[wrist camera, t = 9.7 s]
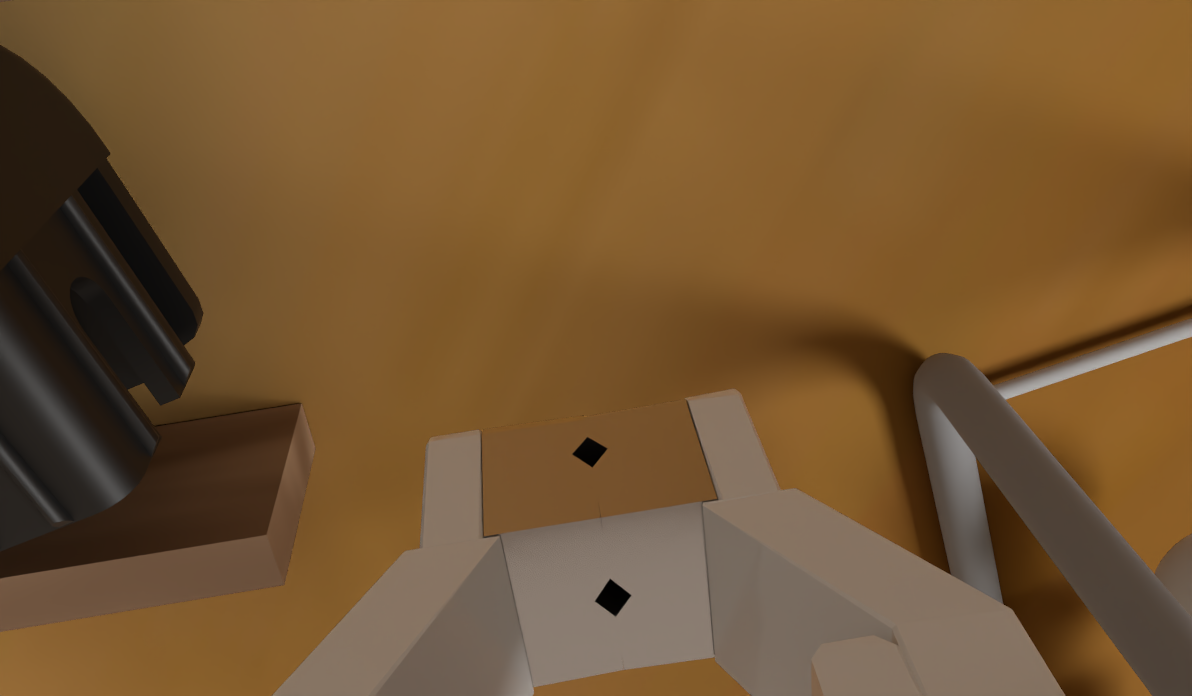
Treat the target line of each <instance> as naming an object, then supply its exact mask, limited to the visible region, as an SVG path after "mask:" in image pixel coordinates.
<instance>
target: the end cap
mask: <svg viewBox="0 0 1192 696" xmlns="http://www.w3.org/2000/svg"><path fill="white" fill-rule="evenodd" d="M109 155H110V152H109V150H108V149H107V148H106V146H105V145H104V143H103V142H102V141H101V139H100V138H99V136H98V135H97V134H96V132H95V131H94V129H93V128H92V127H91V125H90V124H89V123H88V122H87V121H86V119H85V118H84V117H83V116H82V115H81V113H80V112H79V111H78V110H77V109H76V108H75V106H74V105H73V104H72V103H71V102H70V100H69V99H68V98H67V97H66V96H65V95H64V94H63V93H62V92H61V91H60V90H58V89H57V88H56V87H55V86H54V85H53V84H52V83H51V82H50V81H49V80H48V79H47V78H46V77H45V76H44V75H43V74H41V73H40V72H39V71H38V70H36V69H35V68H34V67H33V66H31V65H30V64H29V63H28V62H26V61H25V60H24V59H23V58H21V57H20V56H18V55H16V54H15V53H13V52H11V51H10V50H8V49H6V48H5V47H3V46H1V45H0V551H3V550H6V549H8V548H11V547H13V546H16V545H18V544H21V543H23V542H26V541H29V540H31V539H34V538H36V537H39V536H41V535H44V534H46V533H49V532H52V531H54V530H57V529H59V528H62V527H64V526H67V525H70V524H72V523H75V522H77V521H80V520H82V519H85V518H87V517H90V516H93V515H95V514H97V513H100V512H102V511H104V510H106V509H108V508H110V507H111V506H113V505H114V504H116V503H118V502H119V501H121V500H122V499H123V498H124V497H126V496H127V495H128V494H129V493H130V492H131V491H132V490H133V489H134V488H135V487H136V486H137V485H138V484H139V483H140V481H141V480H142V478H143V477H144V475H145V473H146V470H147V468H148V466H149V464H150V462H151V460H152V457H153V455H154V453H155V451H156V449H157V447H158V444H159V442H160V440H161V438H162V436H161V435H160V433H159V432H158V431H157V429H156V428H155V427H154V425H153V424H152V423H151V421H150V420H149V419H148V417H147V416H146V414H145V413H144V412H143V410H142V409H141V408H140V406H139V405H138V404H137V402H136V401H135V400H134V398H133V397H132V395H131V394H130V393H129V391H128V390H127V389H130V388H132V387H135V386H137V385H140V384H142V383H144V384H145V385H146V386H147V388H148V389H149V390H150V392H151V393H152V395H153V396H154V397H155V399H156V400H157V402H158V403H159V404H160V405H163V404H165V403H168V402H170V401H173V400H175V399H178V398H180V397H181V395H182V392H183V390H184V388H185V386H186V384H187V382H188V379H189V377H190V375H191V373H192V371H193V369H194V366H195V361H194V360H193V358H192V357H191V356H190V354H189V353H188V351H187V350H186V348H185V347H184V345H185V344H186V343H188V342H189V341H190V340H191V339H193V338H194V337H195V335H196V333H197V331H198V328H199V326H200V323H201V320H202V316H203V311H202V308H201V305H200V302H199V299H198V297H197V296H196V294H195V293H194V291H193V290H192V288H191V287H190V285H189V284H188V282H187V281H186V279H185V278H184V276H183V275H182V273H181V272H180V270H179V268H178V267H177V265H176V264H175V262H174V261H173V259H172V258H171V256H170V255H169V253H168V252H167V250H166V249H165V247H164V246H163V244H162V243H161V241H160V240H159V238H158V236H157V235H156V233H155V232H154V230H153V229H152V227H151V226H150V224H149V223H148V221H147V220H146V218H145V217H144V215H143V214H142V212H141V211H140V209H139V208H138V206H137V205H136V203H135V201H134V200H133V198H132V197H131V195H130V194H129V192H128V191H127V189H126V188H125V186H124V185H123V183H122V182H121V180H120V179H119V177H118V176H117V174H116V173H115V171H114V169H113V168H112V166H111V165H110V163H109V162H108V160H107V159H106V158H107V157H108V156H109Z"/></svg>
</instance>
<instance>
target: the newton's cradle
mask: <svg viewBox="0 0 1192 696" xmlns="http://www.w3.org/2000/svg"><path fill="white" fill-rule="evenodd" d="M1189 337H1192V318H1190V319H1188V320H1185V321H1182V322H1179V323H1176V324H1173V325H1170V326H1167V327H1164V328H1161V329H1158V330H1155V331H1152V332H1149V333H1146V334H1143V335H1140V336H1138V337H1135V338H1132V339H1129V340H1126V341H1123V342H1120V343H1117V344H1114V345H1111V346H1108V347H1105V348H1102V349H1099V350H1096V351H1093V352H1090V353H1087V354H1085V355H1082V356H1079V357H1076V358H1073V359H1070V360H1067V361H1064V362H1061V363H1058V364H1055V365H1052V366H1049V367H1046V368H1043V369H1040V370H1037V371H1034V372H1032V373H1029V374H1026V375H1023V376H1020V377H1017V378H1014V379H1011V380H1008V381H1005V382H1002V383H999V384H996V385H992V384H991V382H990V381H989V380H988V379H987V378H986V377H985V375H984V374H983V373H982V372H981V371H979V370H978V369H977V368H976V367H975V366H974V365H973V364H972V363H971V362H970V361H969V360H967V359H965V358H964V357H961V356H957V355H953V354H948V353H939V354H935V355H932V356H930V357H929V358H927V359H926V360H925V361H924V362H923V363H922V365H921V366H920V368H919V369H918V371H917V372H916V374H915V377H914V383H913V399H914V405H915V411H916V418H917V422H918V427H919V431H920V436H921V440H922V445H923V449H924V454H925V459H926V463H927V468H928V472H929V477H930V481H931V486H932V490H933V495H934V500H935V504H936V509H937V513H938V518H939V522H940V527H941V531H942V536H943V541H944V545H945V550H946V554H947V559H948V563H949V568H950V572H951V575H952V576H954V577H955V578H957V579H959V580H961V581H963V582H964V583H966V584H968V585H970V586H971V587H973V588H975V589H977V590H979V591H980V592H982V593H984V594H986V595H988V596H989V597H991V598H993V599H995V600H996V601H998V602H1000V603H1002V604H1003V601H1002V595H1001V590H1000V585H999V579H998V574H997V569H996V563H995V558H994V553H993V548H992V542H991V537H990V532H989V526H988V521H987V516H986V510H985V505H984V500H983V495H982V489H981V484H980V479H979V473H978V468H977V463H976V458H977V459H978V461H979V462H980V463H981V465H982V466H983V468H984V469H985V470H986V472H987V473H988V474H989V476H990V477H991V478H992V480H993V481H994V482H995V484H996V485H997V486H998V488H999V489H1000V490H1001V492H1002V493H1003V495H1004V496H1005V497H1006V499H1007V500H1008V501H1009V503H1010V504H1011V505H1012V507H1013V508H1014V509H1015V511H1016V512H1017V513H1018V515H1019V516H1020V517H1021V519H1022V520H1023V522H1024V523H1025V524H1026V526H1027V527H1028V528H1029V530H1030V531H1031V532H1032V534H1033V535H1034V536H1035V538H1036V539H1037V540H1038V542H1039V543H1040V544H1041V546H1042V547H1043V549H1044V550H1045V551H1046V553H1047V554H1048V555H1049V557H1050V558H1051V559H1052V561H1053V562H1054V563H1055V565H1056V566H1057V567H1058V569H1059V570H1060V572H1061V573H1062V574H1063V576H1064V577H1065V578H1066V580H1067V581H1068V582H1069V584H1070V585H1071V586H1072V588H1073V589H1074V590H1075V592H1076V593H1077V594H1078V596H1079V597H1080V599H1081V600H1082V601H1083V603H1084V604H1085V605H1086V607H1087V608H1088V609H1089V611H1090V612H1091V613H1092V615H1093V616H1094V617H1095V619H1096V620H1097V621H1098V623H1099V624H1100V626H1101V627H1102V628H1103V630H1104V631H1105V632H1106V634H1107V635H1108V636H1109V638H1110V639H1111V640H1112V642H1113V643H1114V644H1115V646H1116V647H1117V648H1118V650H1119V651H1120V653H1121V654H1122V655H1123V657H1124V658H1125V659H1126V661H1127V662H1128V663H1129V665H1130V666H1131V667H1132V669H1133V670H1134V671H1135V673H1136V674H1137V675H1138V677H1139V678H1140V680H1141V681H1142V682H1143V684H1144V685H1145V686H1146V688H1147V689H1148V690H1149V692H1150V693H1151V694H1152V696H1192V534H1190V535H1188V536H1186V537H1185V538H1183V539H1182V540H1180V541H1179V542H1178V543H1176V544H1175V545H1174V546H1173V547H1172V548H1171V549H1170V550H1169V551H1168V552H1167V554H1166V555H1165V556H1164V557H1163V559H1162V560H1161V562H1160V563H1159V565H1158V567H1157V569H1156V572H1155V574H1154V573H1153V572H1152V571H1151V570H1150V568H1149V567H1148V566H1147V565H1146V564H1145V562H1144V561H1143V560H1142V559H1141V558H1140V557H1139V555H1138V554H1137V553H1136V552H1135V551H1134V550H1133V548H1132V547H1131V546H1130V545H1129V544H1128V543H1127V541H1126V540H1125V539H1124V538H1123V537H1122V536H1121V534H1120V533H1119V532H1118V531H1117V530H1116V529H1115V527H1114V526H1113V525H1112V524H1111V523H1110V522H1109V520H1108V519H1107V518H1106V517H1105V516H1104V515H1103V513H1102V512H1101V511H1100V510H1099V509H1098V508H1097V506H1096V505H1095V504H1094V503H1093V502H1092V501H1091V499H1090V498H1089V497H1088V496H1087V495H1086V494H1085V492H1084V491H1083V490H1082V489H1081V488H1080V487H1079V485H1078V484H1077V483H1076V482H1075V481H1074V479H1073V478H1072V477H1071V476H1070V475H1069V474H1068V472H1067V471H1066V470H1065V469H1064V468H1063V467H1062V465H1061V464H1060V463H1059V462H1058V461H1057V460H1056V458H1055V457H1054V456H1053V455H1052V454H1051V453H1050V451H1049V450H1048V449H1047V448H1046V447H1045V446H1044V444H1043V443H1042V442H1041V441H1040V440H1039V439H1038V437H1037V436H1036V435H1035V434H1034V433H1033V432H1032V430H1031V429H1030V428H1029V427H1028V426H1027V425H1026V423H1025V422H1024V421H1023V420H1022V419H1021V418H1020V416H1019V415H1018V414H1017V413H1016V412H1015V411H1014V409H1013V408H1012V407H1011V406H1010V405H1009V404H1008V402H1007V401H1006V400H1005V399H1008V398H1011V397H1014V396H1017V395H1020V394H1023V393H1026V392H1029V391H1032V390H1035V389H1038V388H1041V387H1044V386H1047V385H1050V384H1053V383H1056V382H1059V381H1062V380H1065V379H1068V378H1070V377H1073V376H1076V375H1079V374H1082V373H1085V372H1088V371H1091V370H1094V369H1097V368H1100V367H1103V366H1106V365H1109V364H1112V363H1115V362H1118V361H1121V360H1124V359H1127V358H1130V357H1133V356H1135V355H1138V354H1141V353H1144V352H1147V351H1150V350H1153V349H1156V348H1159V347H1162V346H1165V345H1168V344H1171V343H1174V342H1177V341H1180V340H1183V339H1186V338H1189Z"/></svg>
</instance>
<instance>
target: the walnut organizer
mask: <svg viewBox="0 0 1192 696" xmlns="http://www.w3.org/2000/svg"><path fill="white" fill-rule="evenodd" d="M3 1H10V0H0V2H3ZM155 428H156V429H157V431H158V432H159V433H160V435H161V436H162V438H161V440H160V442H159V444H158V447H157V449H156V451H155V453H154V455H153V457H152V460H151V462H150V464H149V466H148V468H147V470H146V473H145V475H144V477H143V478H142V480H141V481H140V483H139V484H138V485H137V486H136V487H135V488H134V489H133V490H132V491H131V492H130V493H129V494H128V495H127V496H126V497H124V498H123V499H122V500H121V501H119V502H118V503H116V504H114V505H113V506H111V507H110V508H108V509H106V510H104V511H102V512H100V513H97V514H95V515H93V516H90V517H87V518H85V519H82V520H80V521H77V522H75V523H72V524H70V525H67V526H64V527H62V528H59V529H57V530H54V531H52V532H49V533H46V534H44V535H41V536H39V537H36V538H34V539H31V540H29V541H26V542H23V543H21V544H18V545H16V546H13V547H11V548H8V549H6V550H3V551H0V632H2V631H8V630H14V629H20V628H26V627H32V626H38V625H45V624H51V623H57V622H63V621H69V620H75V619H81V618H87V617H93V616H99V615H105V614H111V613H117V612H123V611H130V610H136V609H142V608H148V607H154V606H160V605H166V604H172V603H178V602H184V601H190V600H196V599H202V598H208V597H215V596H221V595H227V594H233V593H239V592H245V591H251V590H257V589H263V588H269V587H275V586H281V585H284V584H285V580H286V575H287V571H288V567H289V562H290V558H291V554H292V549H293V545H294V540H295V536H296V532H297V527H298V523H299V518H300V514H301V510H302V505H303V501H304V497H305V492H306V488H307V483H308V479H309V475H310V470H311V466H312V461H313V457H314V453H315V445H314V442H313V439H312V435H311V432H310V429H309V426H308V422H307V419H306V416H305V413H304V410H303V406H302V403H301V404H295V405H288V406H282V407H276V408H269V409H263V410H257V411H251V412H244V413H238V414H232V415H225V416H219V417H213V418H206V419H200V420H194V421H188V422H181V423H175V424H169V425H162V426H156V427H155Z"/></svg>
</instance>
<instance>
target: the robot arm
mask: <svg viewBox="0 0 1192 696" xmlns="http://www.w3.org/2000/svg"><path fill="white" fill-rule="evenodd" d="M713 657H715V661H716V662H717V663H718V664H719V665H720V666H721V667H722V668H723V669H724V670H725V671H726V672H727V673H728V674H729V675H730V676H731V677H732V678H733V679H735V680H736V681H737V682H738V683H739V684H740V685H741V686H742V687H743V688H744V689H745V690H746V691H747V692H748V693H749V694H750V695H751V696H1065V694H1064V693H1063V691H1062V689H1061V688H1060V686H1059V684H1058V683H1057V681H1056V680H1055V678H1054V676H1053V675H1052V673H1051V671H1050V670H1049V668H1048V667H1047V665H1046V663H1045V662H1044V660H1043V658H1042V657H1041V655H1040V654H1039V652H1038V650H1037V649H1036V647H1035V645H1034V644H1033V642H1032V641H1031V639H1030V637H1029V636H1028V634H1027V632H1026V631H1025V629H1024V628H1023V626H1022V624H1021V623H1020V621H1019V619H1018V618H1017V616H1016V615H1015V613H1014V611H1013V610H1012V609H1011V608H1009V607H1007V606H1005V605H1004V604H1002V603H1000V602H998V601H996V600H995V599H993V598H991V597H989V596H988V595H986V594H984V593H982V592H980V591H979V590H977V589H975V588H973V587H971V586H970V585H968V584H966V583H964V582H963V581H961V580H959V579H957V578H955V577H954V576H952V575H950V574H948V573H946V572H945V571H943V570H941V569H939V568H938V567H936V566H934V565H932V564H930V563H929V562H927V561H925V560H923V559H921V558H920V557H918V556H916V555H914V554H913V553H911V552H909V551H907V550H905V549H904V548H902V547H900V546H898V545H897V544H895V543H893V542H891V541H889V540H888V539H886V538H884V537H882V536H880V535H879V534H877V533H875V532H873V531H872V530H870V529H868V528H866V527H864V526H863V525H861V524H859V523H857V522H855V521H854V520H852V519H850V518H848V517H847V516H845V515H843V514H841V513H839V512H838V511H836V510H834V509H832V508H830V507H829V506H827V505H825V504H823V503H822V502H820V501H818V500H816V499H814V498H813V497H811V496H809V495H807V494H805V493H804V492H802V491H800V490H798V489H796V488H794V489H787V490H780V487H779V485H778V482H777V480H776V478H775V475H774V473H773V470H772V468H771V466H770V463H769V461H768V458H767V456H766V453H765V451H764V449H763V446H762V444H761V441H760V439H759V437H758V434H757V432H756V429H755V427H754V425H753V422H752V420H751V417H750V415H749V413H748V410H747V408H746V405H745V403H744V400H743V398H742V396H741V393H740V392H738V391H737V390H735V389H729V390H724V391H719V392H714V393H708V394H703V395H698V396H693V397H687V398H685V399H682V400H677V401H671V402H665V403H659V404H654V405H648V406H642V407H636V408H631V409H625V410H619V411H613V412H608V413H602V414H596V415H590V416H584V415H582V416H575V417H568V418H560V419H553V420H546V421H538V422H531V423H524V424H517V425H509V426H502V427H495V428H487V429H483V431H480V430H473V431H467V432H460V433H454V434H448V435H442V436H435V437H431V438H430V440H429V441H428V443H427V445H426V455H425V472H424V488H423V504H422V520H421V537H420V549H414V550H408V551H405V552H403V553H402V554H401V556H400V557H399V558H398V559H397V560H396V561H395V562H394V563H393V564H392V565H391V566H390V568H389V569H388V570H387V571H386V572H385V573H384V574H383V575H382V576H381V577H380V578H379V580H378V581H377V582H376V583H375V584H374V585H373V586H372V587H371V588H370V589H369V590H368V592H367V593H366V594H365V595H364V596H363V597H362V598H361V599H360V600H359V601H358V602H357V604H356V605H355V606H354V607H353V608H352V609H351V610H350V611H349V612H348V613H347V614H346V615H345V617H344V618H343V619H342V620H341V621H340V622H339V623H338V624H337V625H336V626H335V627H334V629H333V630H332V631H331V632H330V633H329V634H328V635H327V636H326V637H325V638H324V639H323V641H322V642H321V643H320V644H319V645H318V646H317V647H316V648H315V649H314V650H313V651H312V653H311V654H310V655H309V656H308V657H307V658H306V659H305V660H304V661H303V662H302V663H301V665H300V666H299V667H298V668H297V669H296V670H295V671H294V672H293V673H292V674H291V675H290V677H289V678H288V679H287V680H286V681H285V682H284V683H283V684H282V685H281V686H280V687H279V689H278V690H277V691H276V692H275V693H274V694H273V695H272V696H532V695H533V694H534V690H533V687H537V686H542V685H548V684H553V683H558V682H563V681H568V680H573V679H579V678H584V677H589V676H594V675H599V674H604V673H610V672H615V671H620V670H626V669H633V668H641V667H648V666H655V665H662V664H670V663H677V662H684V661H691V660H699V659H706V658H713ZM623 666H624V669H623Z"/></svg>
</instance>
